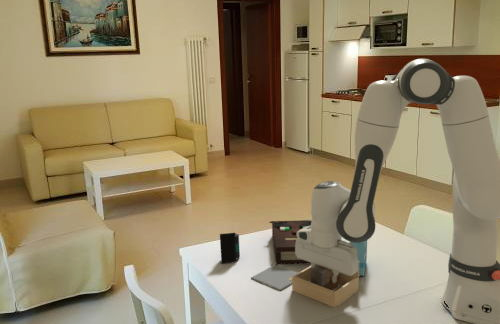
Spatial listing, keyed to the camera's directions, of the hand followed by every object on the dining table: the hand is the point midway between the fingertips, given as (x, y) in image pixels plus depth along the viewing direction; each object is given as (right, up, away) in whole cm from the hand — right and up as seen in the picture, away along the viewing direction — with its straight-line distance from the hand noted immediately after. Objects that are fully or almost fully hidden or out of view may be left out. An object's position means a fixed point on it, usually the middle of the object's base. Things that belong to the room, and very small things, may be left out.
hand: (325, 279), depth 138 cm
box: (0, -4, +1) cm, 4 cm away
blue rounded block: (+13, 0, +14) cm, 19 cm away
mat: (-14, -2, +9) cm, 17 cm away
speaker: (-30, +1, +24) cm, 38 cm away
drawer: (-1, -4, 0) cm, 4 cm away
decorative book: (-5, +3, +31) cm, 32 cm away
